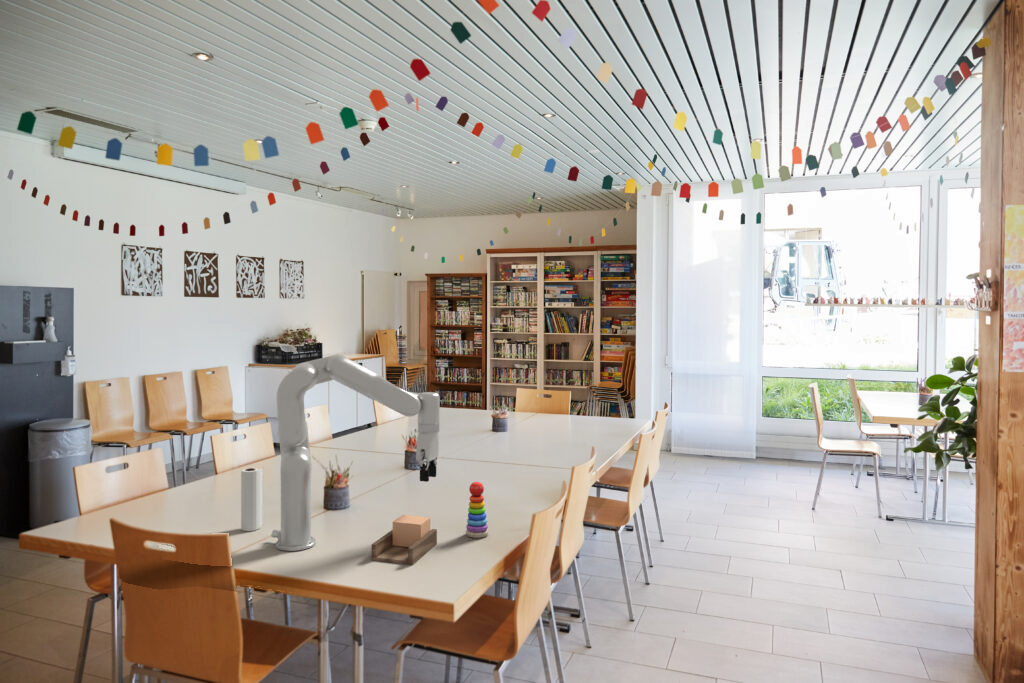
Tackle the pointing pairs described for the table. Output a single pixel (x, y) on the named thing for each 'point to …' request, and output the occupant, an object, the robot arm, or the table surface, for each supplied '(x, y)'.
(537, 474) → the table surface
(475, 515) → the stacking toy
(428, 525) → the block
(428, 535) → the chute
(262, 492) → the paper towel roll
